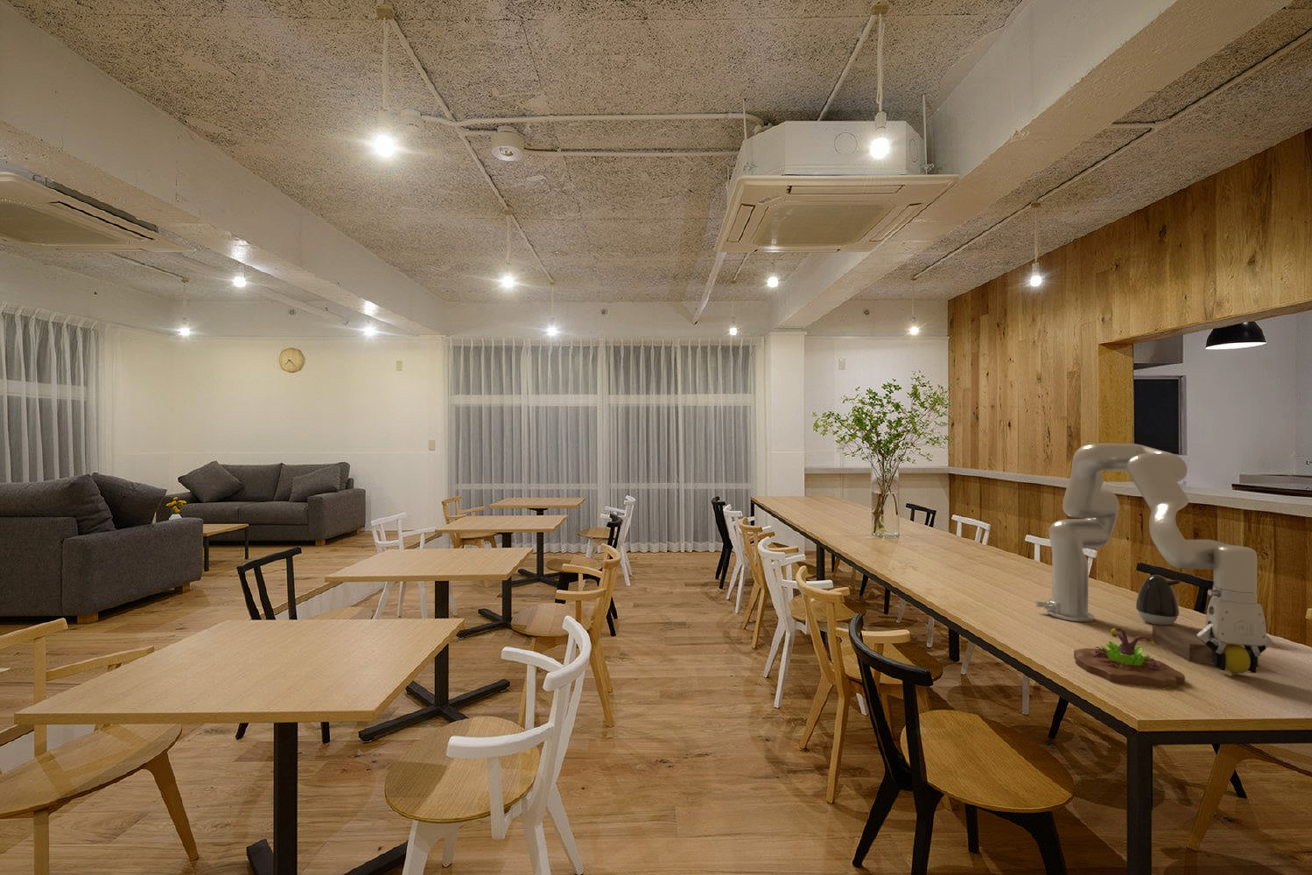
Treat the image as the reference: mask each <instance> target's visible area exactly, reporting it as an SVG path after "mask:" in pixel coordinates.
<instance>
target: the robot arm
mask: <svg viewBox="0 0 1312 875" xmlns="http://www.w3.org/2000/svg"><path fill="white" fill-rule="evenodd" d="M1072 457H1073V458H1072V463H1071V472H1070V476H1069V479H1068V483H1067V485H1066V489H1065V492H1064V496H1063V501H1062V510H1063V513H1065V514H1066V515H1067V516H1068V517H1071V519H1070V518H1065V519H1060V520H1057V521H1055V522H1053V523H1052V524H1051V525H1050V527H1049V529H1048V536H1049V537H1048V538H1049V542H1050V547H1051V554H1052V555H1051V556H1052V557H1051V558H1052V564H1051V566H1052V569H1051V570H1052V574H1051V575H1052V578H1051V579H1052V581H1051V582H1052V583H1051V586H1052V589H1051V591H1052V593H1051V595H1052V598H1048V600H1046V601H1042V600H1041V601H1040V600H1039V601H1038V600H1036V601H1035V603H1034V604H1035V607H1036V608H1043V609H1044V610H1045V609H1046V613H1047V614H1048V615H1049V616H1052V617H1054V618H1057V619H1061V620H1065V621H1066V620H1067V621H1072V622H1085V623H1086V622H1087V623H1088V622H1093V621H1094V620H1095V616H1094V615H1093V614H1092V613H1091V612H1089V562H1088V558H1087V556H1086V554H1085V553H1084V551H1083V550H1084V549H1085V550H1086V549H1100V548H1102V547H1103V548H1104V547H1105V546H1106V545H1107V544H1108V543H1109V542H1110V541H1111V537H1112V534H1113V533H1114V532H1113V531H1114V529H1115V526H1116V522H1117V518H1118V516H1119V512H1120V501H1119V498H1118V497H1117V494H1115V493H1114V492H1112V491H1111V490H1108V489H1105V488H1102V487H1103V484H1104V476H1103V472H1102V471H1106V472H1110V471H1111V472H1127V473H1128V475H1129V477H1130V478H1131V480H1132V481H1133V483H1134V484H1135V487H1136V488H1137V489H1138V491H1139V493H1140V494H1141V496H1142V498H1143V500H1144V501H1145V502H1146V504H1147V506H1148V508H1149V510H1150V515H1149V522H1148V524H1149V526H1148V527H1149V528H1148V529H1149V534H1150V538H1151V540H1152V542H1153V544H1154V545H1155V547H1156V548H1157V550H1158V551H1159V554H1160V555H1161V557H1162V558H1163V559H1164V560H1165V561H1166V562H1167V563H1168V564H1169V565H1171V566H1172V567H1174V568H1176V569H1179V570H1180V569H1181V570H1213V585H1212V589H1208V590H1207V594H1208V595H1209V596H1210V597H1212V596H1213V599H1211V598H1210V600H1209V603H1208V606H1207V610H1206V617H1205V627H1204V628H1202V629H1203V630H1202V631H1200V632H1199V633H1198V634H1197V635H1196V636H1197V637H1198V638H1199V639H1200V640H1201V641H1202V642H1204V644H1206V645H1207V646H1208V647H1209V649H1211V650H1212V663H1211V664H1212V666H1213V667H1215V668H1216V669H1219V670H1220V671H1225V670H1226V669H1225V654H1223V653H1222V652H1223V650H1224V648H1225V646H1226V644H1235V645H1244V647H1245V650H1246V651H1247V652H1248V654H1249V656H1250V667H1249V669H1248V670H1247V672H1248V671H1249V672H1250V673H1252V674H1253V673H1254V674H1256V673H1257V668H1258V667H1257V657H1258V658H1259V657H1260V656H1261V653H1263V652H1264V651H1266V649H1268V648H1270V646H1273V645H1274V641H1273V639H1271V638H1270V637H1269V636H1268V635H1267V626H1266V619H1265V614H1264V610H1263V606H1262V604H1260V603H1258V554H1257V552H1256V551H1255V549H1253V548H1250V547H1247V546H1243V545H1235V544H1228V543H1225V542H1222V541H1219V540H1218V541H1217V540H1213V539H1185V537H1184V536H1183V534H1182V533H1181V531H1180V529H1179V527H1178V525H1177V522H1176V516H1177V513H1178V511H1180V510H1182V509H1184V508H1185V507H1186V506H1187V505H1188V504H1189V502H1190V501H1189V497H1188V496H1187V494H1186V493H1185V491H1184V490H1183V488H1182V487H1181V485H1180V484H1179V482H1180V481H1182V480H1183V479H1185V478H1186V476H1187V474H1188V466H1187V464H1186V462H1185V461H1184V460H1183V459H1182V457H1180V456H1178V455H1177V454H1174V453H1172V452H1168V451H1165V450H1160V449H1157V448H1153V447H1149V446H1146V445H1143V444H1138V443H1126V442H1125V443H1121V442H1120V443H1113V442H1109V443H1108V442H1102V443H1101V442H1100V443H1099V442H1098V443H1090V444H1089V443H1088V444H1085V445H1083V446H1081V447H1079V448H1078V449H1077V450H1076V451H1075V453H1074V455H1073V456H1072ZM1073 518H1074V519H1073ZM1208 637H1211V638H1213V639H1212V641H1210V640H1209V639H1208Z"/></svg>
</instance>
